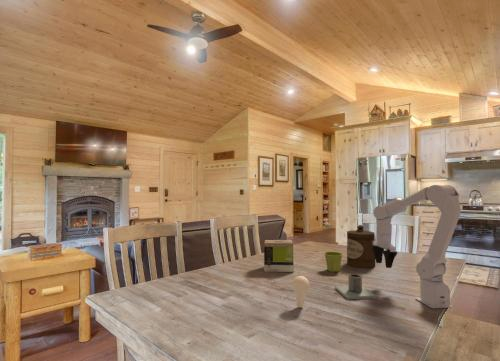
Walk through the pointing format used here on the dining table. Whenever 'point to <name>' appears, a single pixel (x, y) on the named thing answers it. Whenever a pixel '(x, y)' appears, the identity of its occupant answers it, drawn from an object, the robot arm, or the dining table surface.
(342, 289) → the shaft plate
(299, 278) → the lightbulb
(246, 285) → the dining table surface
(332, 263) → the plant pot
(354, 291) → the tube
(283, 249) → the tea box
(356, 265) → the wooden container
